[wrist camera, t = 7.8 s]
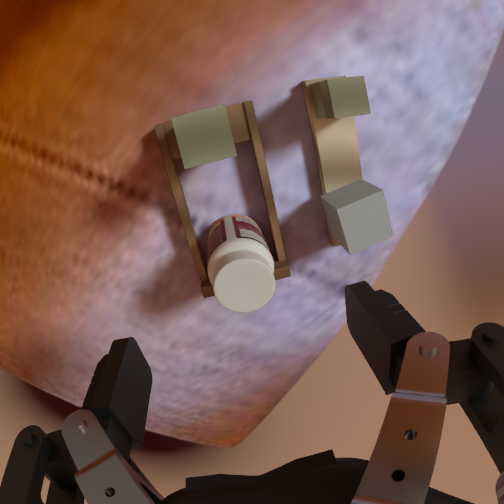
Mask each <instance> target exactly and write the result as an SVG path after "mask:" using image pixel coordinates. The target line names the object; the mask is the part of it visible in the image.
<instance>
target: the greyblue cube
mask: <svg viewBox="0 0 504 504" xmlns="http://www.w3.org/2000/svg"><path fill="white" fill-rule="evenodd" d="M320 198H321V201H322V204H323V207H324V210H325V213H326V216H327V219H328V222H329V225H330V228H331V231H332V234H333V237H334V238H335V239H336V240H337V241H338V242H339V243H340V244H341V245H342V247H343V248H344V249H345V250H346V251H347V252H348V253H349V254H350V255H352V254H354V253H357V252H359V251H361V250H363V249H365V248H368V247H370V246H372V245H374V244H376V243H378V242H381V241H383V240H385V239H387V238H389V237H391V236H393V231H392V227H391V222H390V218H389V213H388V209H387V205H386V200H385V196H384V192H383V190H382V189H380V188H378V187H376V186H374V185H372V184H370V183H368V182H366V181H364V180H362V179H360V180H357V181H355V182H352V183H350V184H348V185H345V186H343V187H340V188H338V189H335V190H333V191H331V192H328V193H326V194H323V195H321V196H320Z"/></svg>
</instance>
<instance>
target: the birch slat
mask: <svg viewBox="0 0 504 504" xmlns="http://www.w3.org/2000/svg"><path fill="white" fill-rule="evenodd" d="M302 86H303V91H304V95H305V100H306V105H307V109H308V114H309V119H310V124H311V129H312V135H313V140H314V145H315V151H316V156H317V162H318V168H319V174H320V180H321V186H322V193H323V194H326V193H328V192H331V191H333V190H335V189H338V188H340V187H343V186H345V185H348V184H350V183H352V182H355V181H357V180H360V179H362V172H361V165H360V157H359V150H358V143H357V137H356V130H355V124H354V119H353V116H358V115H365V114H371V113H370V107H369V102H368V96H367V91H366V86H365V81H364V76H358V77H345V76H340V77H331V78H322V79H314V80H306V81H303V82H302ZM326 220H327V227H328V234H329V242H330V243H331V244H332V246H337V245H340V243H339V242H338V241H337V240H336V239H335V238H334V237H333V234H332V231H331V228H330V225H329V222H328V219H327V216H326Z"/></svg>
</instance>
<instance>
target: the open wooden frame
mask: <svg viewBox="0 0 504 504" xmlns="http://www.w3.org/2000/svg"><path fill="white" fill-rule="evenodd" d="M171 119H172V121H168V122H165V123H161V124H158V125H155V126H154V127H155V131H156V134H157V138H158V142H159V145H160V149H161V153H162V156H163V160H164V163H165V167H166V170H167V174H168V177H169V181H170V184H171V188H172V191H173V194H174V198H175V201H176V204H177V208H178V211H179V214H180V217H181V221H182V224H183V227H184V230H185V233H186V236H187V240H188V243H189V246H190V249H191V252H192V255H193V258H194V261H195V264H196V267H197V270H198V273H199V276H200V279H201V290H202V293H203V296H204V298H206V297H210V296H214V295H215V294H214V291H213V286H212V284H211V282H210V280H209V276H208V272H207V269H206V265H205V262H204V259H203V256H202V253H201V250H200V246H199V243H198V240H197V237H196V234H195V230H194V227H193V224H192V220H191V217H190V214H189V210H188V207H187V204H186V200H185V197H184V193H183V190H182V186H181V183H180V179H179V176H178V172H177V169H176V165H175V162H174V159H178V158H181V157H182V161H183V164H184V168H185V169H188V168H191V167H195V166H199V165H203V164H206V163H210V162H214V161H218V160H222V159H226V158H230V157H234V156H237V153H236V149H235V145H234V144H235V143H239V142H243V141H248V140H251V141H252V146H253V150H254V154H255V159H256V163H257V168H258V172H259V177H260V181H261V186H262V190H263V195H264V199H265V204H266V209H267V213H268V218H269V222H270V227H271V232H272V236H273V241H274V246H275V251H276V255H277V256H273V261H274V274H273V275H274V278H275V280H278V279H282V278H286V277H290V276H291V275H290V269H289V265H288V263H287V261H286V258H285V253H284V248H283V243H282V238H281V233H280V228H279V223H278V218H277V213H276V208H275V203H274V199H273V194H272V189H271V184H270V180H269V175H268V170H267V166H266V161H265V156H264V152H263V147H262V143H261V138H260V134H259V130H258V125H257V121H256V116H255V112H254V108H253V103H252V100H251V101H246V102H242V103H237V104H233V105H228V106H225V104H224V105H220V106H216V107H212V108H208V109H204V110H200V111H196V112H192V113H189V114H185V115H182V116H178V117H175V118H171Z"/></svg>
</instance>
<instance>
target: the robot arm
mask: <svg viewBox="0 0 504 504" xmlns="http://www.w3.org/2000/svg"><path fill="white" fill-rule="evenodd" d="M345 301H346V314H347V324H348V328H349V331H350V333H351V335H352V337H353V339H354V340H355V342H356V344H357V345H358V347H359V349H360V350H361V352H362V354H363V355H364V357H365V359H366V360H367V362H368V364H369V366H370V367H371V369H372V371H373V372H374V374H375V375H376V378H377V379H378V381H379V383H380V384H381V386H382V388H383V390H384V391H385V393H386V395H388V394H391V393H392V396H391V400H390V403H389V406H388V409H387V412H386V416H385V418H384V422H383V424H382V428H381V430H380V433H379V436H378V439H377V442H376V445H375V447H374V450H373V452H372V455H371V458H370V460H369V461H368V460H363V459H358V458H335V456H334V453H333V451H332V450H328V451H325V452H321V453H318V454H314V455H311V456H307V457H303V458H299V459H296V460H293V461H291V462H289V463H287V464H285V465H283V466H281V467H279V468H276V469H274V470H272V471H269V472H268V473H265V474H263V475H259V476H245V475H244V476H243V475H227V474H216V475H209V476H201V477H200V476H199V477H190V478H186V488H183V489H180V490H178V491H176V492H174V493H172V494H170V495H168V496H167V497H166V498H164V497H163V496H162V495H161V494H160V493H159V492H158V491H157V490H156V489H155V487H154V486H153V485H152V484H151V482H150V481H149V480H148V479H147V477H146V476H145V475H144V473H143V472H142V471H141V470H140V468H139V467H138V466H137V464H136V463H135V462H134V460H133V459H132V458H131V457H130V451H131V449H142V447H143V439H144V432H145V425H146V418H147V411H148V405H149V399H150V392H151V386H152V373H151V369H150V367H149V365H148V363H147V361H146V359H145V357H144V355H143V354H142V352H141V350H140V348H139V346H138V344H137V342H136V340H135V339H134V338H133V337H129V338H123V339H118V340H114V341H113V343H112V345H111V348H110V351H109V354H107V355H105V356H104V357H103V358H102V359H101V360H100V362H99V363H98V364H97V367H96V369H95V372H94V376H93V377H92V380H91V384H90V386H89V388H88V391H87V394H86V397H85V400H84V403H83V406H82V409H81V410H79V411H76V412H74V413H72V414H71V415H69V416H68V417H67V418H66V419H65V421H64V423H63V425H62V429H61V430H58V431H55V432H52V433H49V434H46V433H45V432H44V431H43V430H41V428H40V427H38V426H36V425H31V426H28V427H26V428H24V429H23V430H22V431H21V432H20V433H19V434H18V436H17V437H16V439H15V442H14V445H13V448H12V451H11V454H10V457H9V460H8V463H7V466H6V469H5V473H4V476H3V479H2V483H1V486H0V504H44V503H43V502H42V499H41V489H42V485H43V480H44V476H45V477H46V478H47V479H48V480H50V486H49V490H48V495H47V501H46V504H84V498H85V499H86V501H87V503H88V504H474V503H471V502H468V501H465V500H462V499H460V498H457V497H454V496H451V495H448V494H446V493H444V492H441V491H438V490H436V489H433V488H431V487H429V485H430V481H431V477H432V474H433V470H434V465H435V462H436V457H437V453H438V448H439V444H440V439H441V434H442V428H443V422H444V417H445V410H446V405H449V404H455V403H459V404H460V405H461V407H462V408H463V410H464V412H465V413H466V415H467V416H468V418H469V420H470V421H471V423H472V425H473V426H474V428H475V430H476V431H477V433H478V435H479V436H480V438H481V439H482V441H483V443H484V445H485V447H486V448H487V450H488V452H489V454H490V455H491V457H492V459H493V461H494V462H495V464H496V466H497V468H498V470H499V472H500V474H501V475H500V476H499V478H498V480H497V483H496V495H497V499H498V504H504V327H503V326H501V325H499V324H496V323H482V324H480V325H478V326H476V327H475V328H474V330H473V332H472V336H471V338H470V339H465V340H458V341H451V342H448V340H447V339H446V338H445V337H444V336H442V335H440V334H438V333H434V332H426V331H425V330H424V329H423V328H422V327H421V326H420V325H419V324H418V322H417V321H416V320H415V319H414V318H413V317H412V316H411V315H410V314H409V312H408V311H407V310H405V308H404V307H403V306H402V305H401V304H399V302H398V300H397V299H396V298H395V297H394V296H393V295H392V294H390V293H388V292H385V291H383V290H378V291H374V290H373V289H372V288H371V286H370V285H369V284H368V283H367V282H366V281H361V282H357V283H354V284H351V285H347V286H345Z"/></svg>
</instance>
